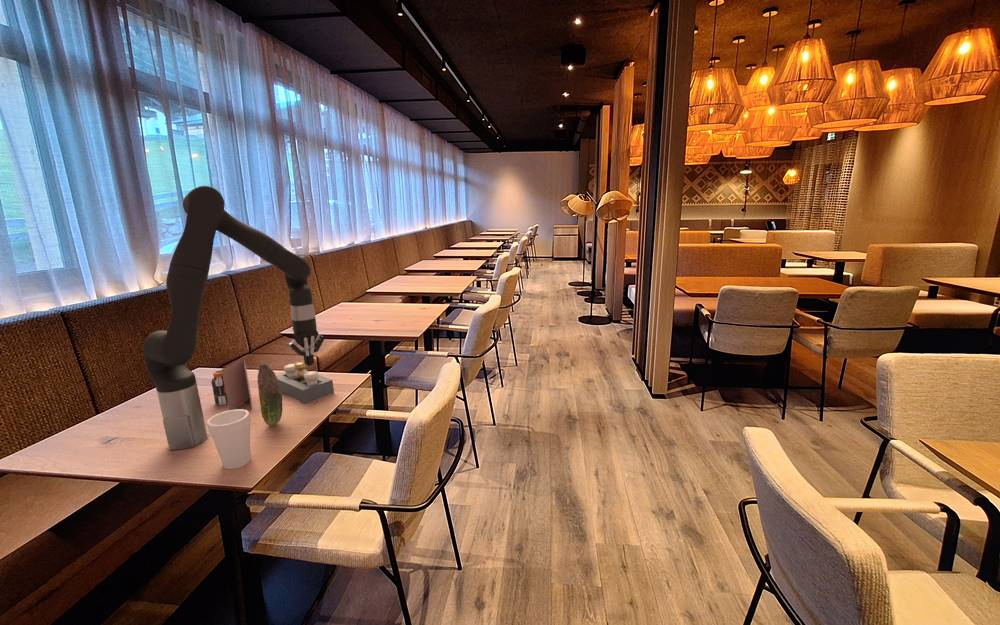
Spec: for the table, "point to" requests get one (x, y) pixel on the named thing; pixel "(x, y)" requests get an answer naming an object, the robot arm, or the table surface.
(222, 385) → the pill bottle
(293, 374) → the far cream knob
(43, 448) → the table surface
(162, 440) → the table surface
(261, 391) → the vegetable
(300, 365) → the gold tall rounded piece
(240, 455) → the foam cup
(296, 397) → the mount
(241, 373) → the greeting card
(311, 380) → the near cream knob
